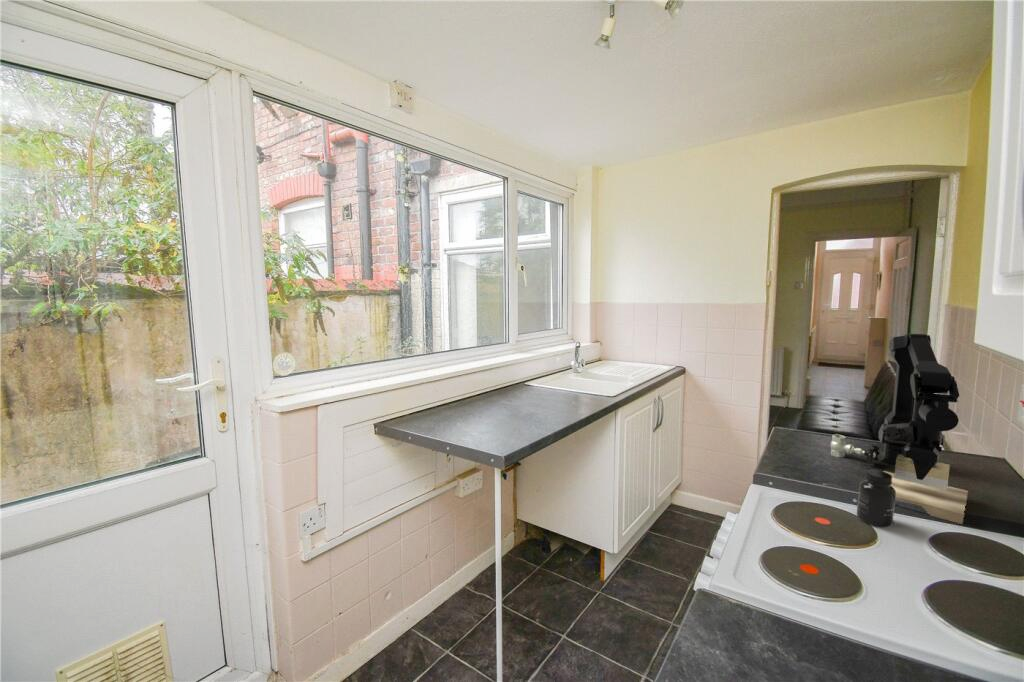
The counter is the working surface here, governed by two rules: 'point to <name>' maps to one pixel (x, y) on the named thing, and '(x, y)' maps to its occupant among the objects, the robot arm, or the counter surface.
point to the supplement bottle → (876, 499)
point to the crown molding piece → (932, 499)
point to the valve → (852, 449)
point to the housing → (934, 477)
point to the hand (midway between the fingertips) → (921, 475)
